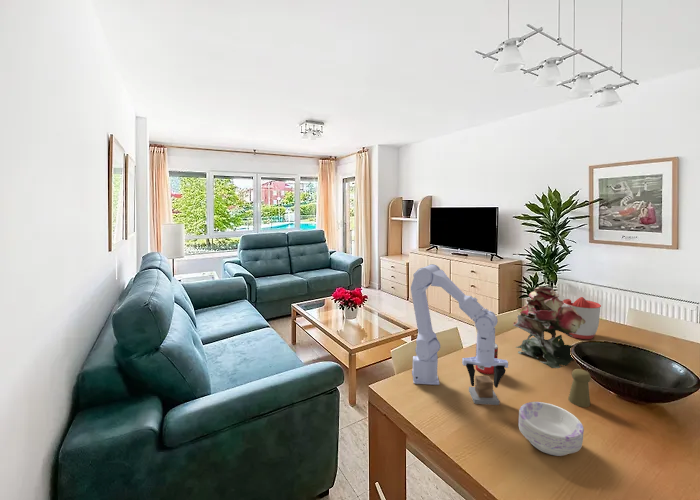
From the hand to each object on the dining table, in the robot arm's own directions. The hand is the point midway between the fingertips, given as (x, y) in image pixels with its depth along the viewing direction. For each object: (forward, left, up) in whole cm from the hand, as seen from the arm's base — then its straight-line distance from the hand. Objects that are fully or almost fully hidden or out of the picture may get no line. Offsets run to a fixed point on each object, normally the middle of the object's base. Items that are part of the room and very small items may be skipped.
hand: (483, 385), depth 113 cm
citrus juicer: (+62, +63, -5) cm, 89 cm away
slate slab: (0, 0, -5) cm, 5 cm away
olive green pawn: (+31, +1, -5) cm, 31 cm away
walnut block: (0, 0, -3) cm, 3 cm away
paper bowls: (+12, -21, -5) cm, 25 cm away
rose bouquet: (+36, +41, -5) cm, 55 cm away
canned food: (+6, +20, -5) cm, 21 cm away
